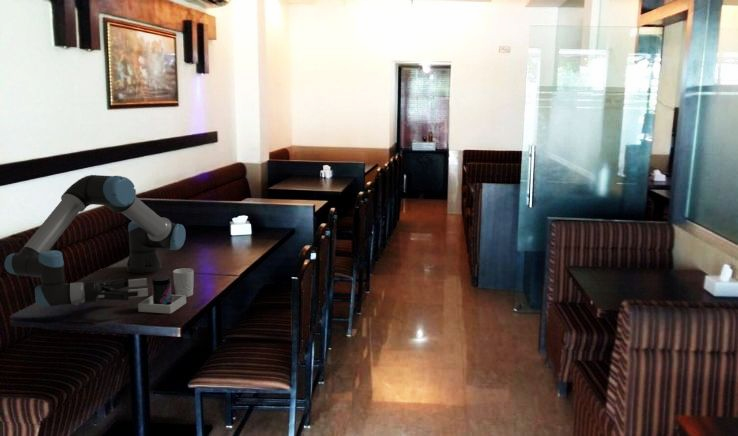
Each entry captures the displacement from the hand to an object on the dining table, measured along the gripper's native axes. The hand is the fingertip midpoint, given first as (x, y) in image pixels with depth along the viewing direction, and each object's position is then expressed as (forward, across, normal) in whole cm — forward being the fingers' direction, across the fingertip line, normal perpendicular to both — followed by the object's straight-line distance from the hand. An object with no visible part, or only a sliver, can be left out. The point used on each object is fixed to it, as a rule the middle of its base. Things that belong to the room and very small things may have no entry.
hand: (147, 286), depth 230 cm
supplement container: (+5, 0, -8) cm, 9 cm away
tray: (+5, 0, -8) cm, 10 cm away
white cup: (+14, -13, -9) cm, 21 cm away
